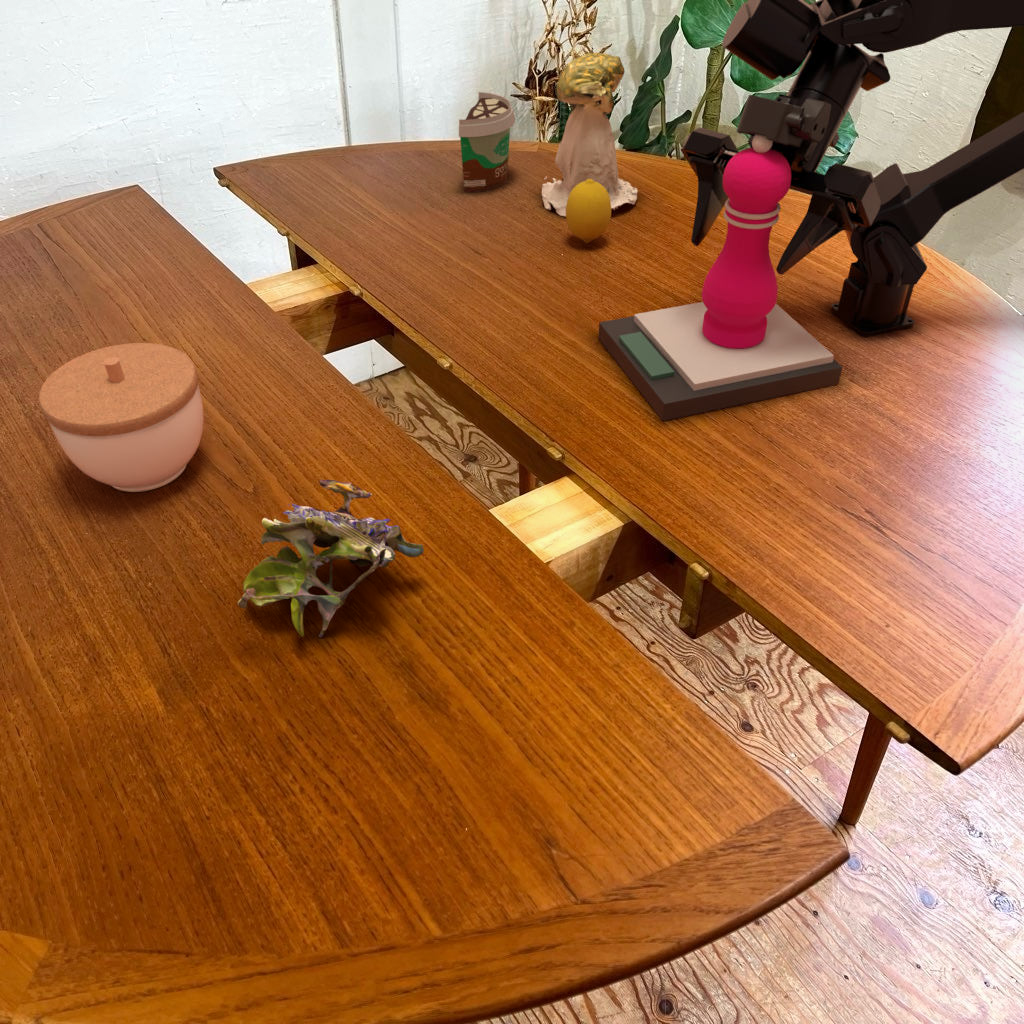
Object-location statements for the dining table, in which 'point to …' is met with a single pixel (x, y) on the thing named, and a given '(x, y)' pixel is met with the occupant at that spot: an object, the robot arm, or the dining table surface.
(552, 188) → the mushroom
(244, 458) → the dining table surface
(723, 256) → the pepper mill
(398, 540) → the passion flower
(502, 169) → the food container
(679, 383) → the scale
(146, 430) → the lidded bowl
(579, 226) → the lemon
